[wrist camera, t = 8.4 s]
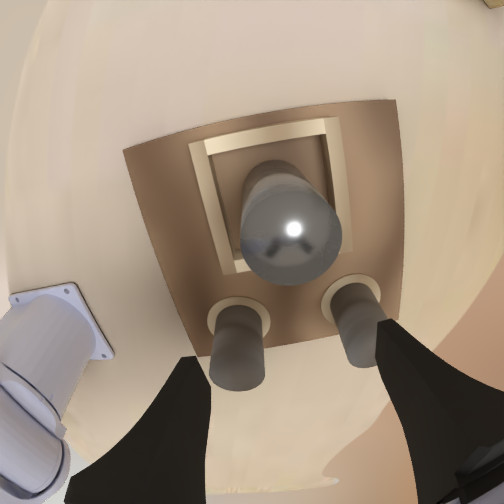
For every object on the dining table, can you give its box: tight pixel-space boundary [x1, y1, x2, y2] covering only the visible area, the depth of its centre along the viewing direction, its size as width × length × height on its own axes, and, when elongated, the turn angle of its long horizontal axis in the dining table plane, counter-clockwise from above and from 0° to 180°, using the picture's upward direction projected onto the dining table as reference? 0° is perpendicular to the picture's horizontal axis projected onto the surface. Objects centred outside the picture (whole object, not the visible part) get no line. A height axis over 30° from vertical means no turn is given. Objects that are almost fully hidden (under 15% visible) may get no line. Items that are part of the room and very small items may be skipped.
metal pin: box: [240, 160, 342, 286], centre depth 13 cm, size 4×4×7 cm
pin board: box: [123, 100, 404, 391], centre depth 16 cm, size 16×16×6 cm
